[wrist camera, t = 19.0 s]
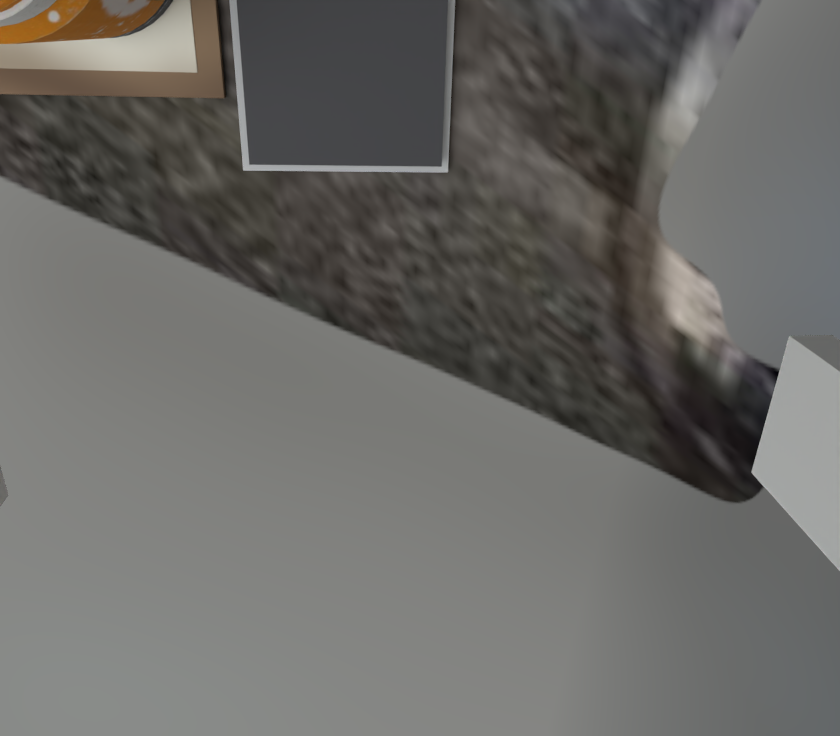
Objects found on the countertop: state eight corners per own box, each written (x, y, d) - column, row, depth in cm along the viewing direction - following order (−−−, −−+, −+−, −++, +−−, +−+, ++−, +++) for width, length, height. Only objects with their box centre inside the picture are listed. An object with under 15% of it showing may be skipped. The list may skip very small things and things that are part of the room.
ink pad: (221, -118, 34) (215, -125, 33) (458, -107, 35) (462, -113, 34) (244, 168, 40) (240, 173, 39) (446, 170, 41) (450, 175, 40)
